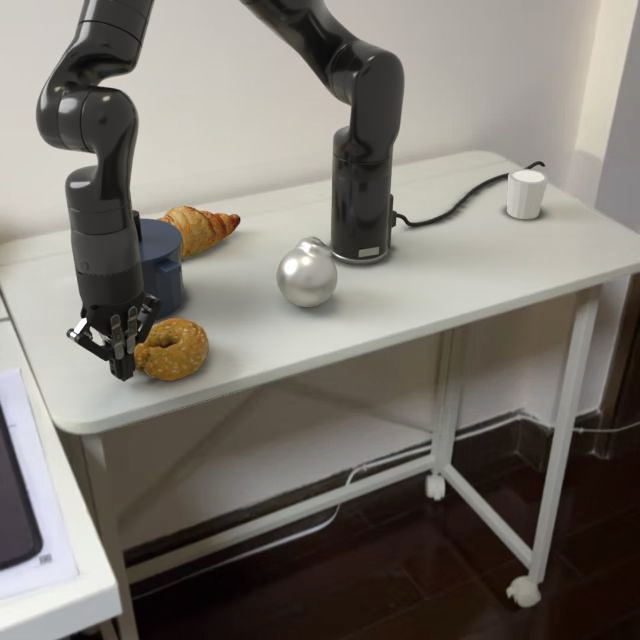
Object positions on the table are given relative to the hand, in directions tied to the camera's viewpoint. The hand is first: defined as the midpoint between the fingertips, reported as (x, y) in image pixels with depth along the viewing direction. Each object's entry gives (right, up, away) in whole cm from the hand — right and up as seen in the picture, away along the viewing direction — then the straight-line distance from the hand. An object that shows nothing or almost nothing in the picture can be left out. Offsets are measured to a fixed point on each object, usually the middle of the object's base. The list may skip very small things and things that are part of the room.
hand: (124, 376), depth 110 cm
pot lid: (-2, +18, +13) cm, 22 cm away
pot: (-2, +10, +18) cm, 21 cm away
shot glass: (+61, +26, +45) cm, 80 cm away
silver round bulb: (+23, +10, +19) cm, 31 cm away
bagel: (+5, +1, +5) cm, 7 cm away
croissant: (+2, +19, +33) cm, 38 cm away
